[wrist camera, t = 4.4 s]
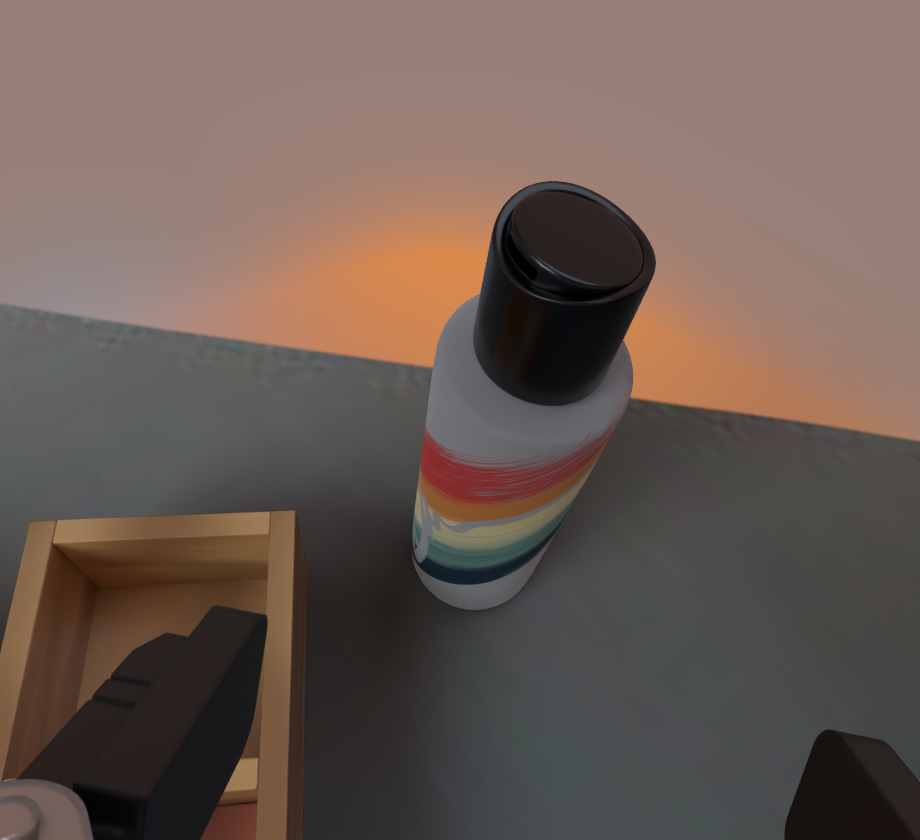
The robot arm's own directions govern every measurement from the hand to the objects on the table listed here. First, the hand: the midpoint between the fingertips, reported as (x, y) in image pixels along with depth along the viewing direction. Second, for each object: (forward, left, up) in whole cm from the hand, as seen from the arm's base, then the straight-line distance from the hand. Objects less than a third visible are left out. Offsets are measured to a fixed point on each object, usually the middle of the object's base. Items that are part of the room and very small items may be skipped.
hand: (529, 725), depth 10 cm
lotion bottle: (-3, -10, -20) cm, 23 cm away
